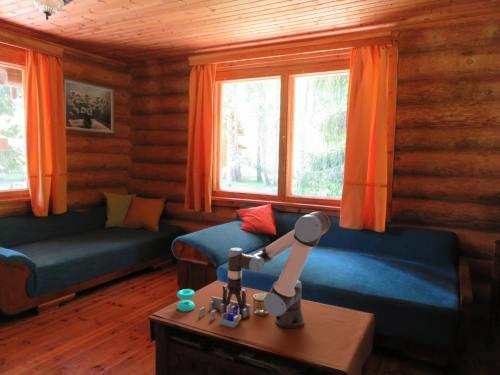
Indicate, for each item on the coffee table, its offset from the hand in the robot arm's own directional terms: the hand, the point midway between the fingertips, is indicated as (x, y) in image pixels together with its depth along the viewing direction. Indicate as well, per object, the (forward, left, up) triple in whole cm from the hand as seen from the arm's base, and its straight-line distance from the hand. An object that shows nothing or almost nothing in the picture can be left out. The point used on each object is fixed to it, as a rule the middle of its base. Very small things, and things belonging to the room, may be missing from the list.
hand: (233, 318), depth 197 cm
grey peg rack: (+6, 0, 0) cm, 6 cm away
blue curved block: (0, 0, -1) cm, 1 cm away
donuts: (+30, +2, -1) cm, 30 cm away
